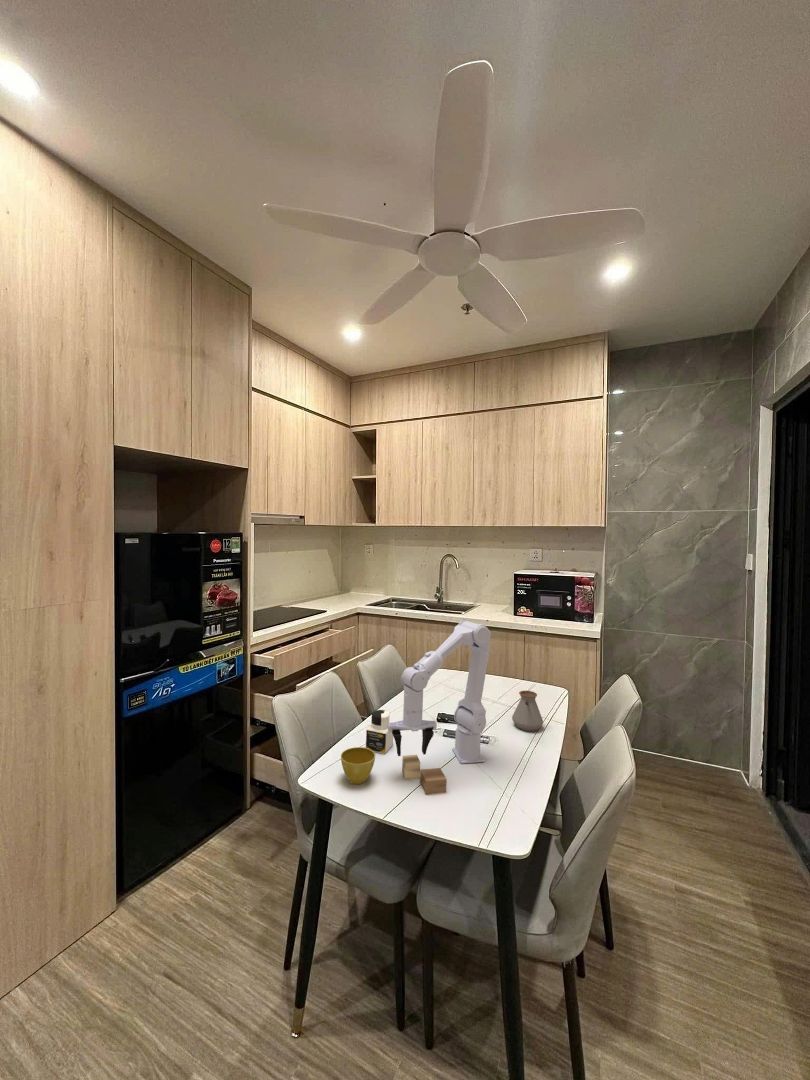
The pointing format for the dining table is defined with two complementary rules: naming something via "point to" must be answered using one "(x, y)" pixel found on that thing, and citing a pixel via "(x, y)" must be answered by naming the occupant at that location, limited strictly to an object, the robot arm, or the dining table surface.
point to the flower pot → (357, 764)
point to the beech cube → (411, 767)
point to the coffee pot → (527, 712)
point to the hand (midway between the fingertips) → (411, 753)
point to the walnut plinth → (433, 781)
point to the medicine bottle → (379, 732)
